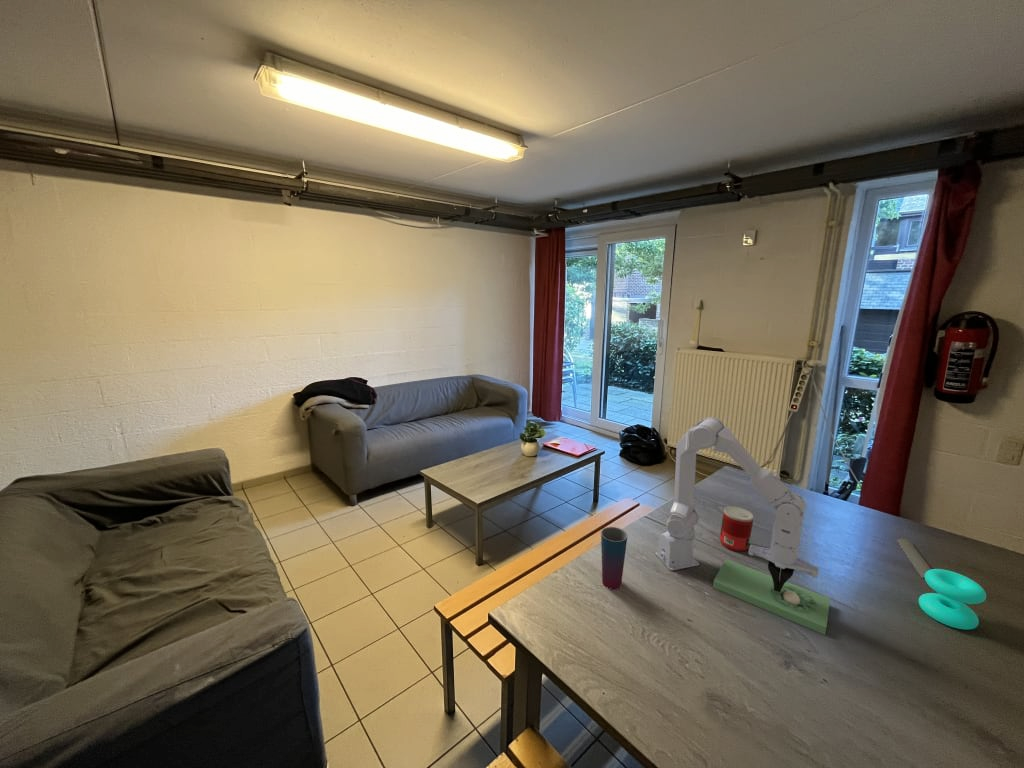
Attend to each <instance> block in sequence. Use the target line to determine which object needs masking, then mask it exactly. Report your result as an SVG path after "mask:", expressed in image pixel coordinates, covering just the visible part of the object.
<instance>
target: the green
mask: <svg viewBox="0 0 1024 768" xmlns="http://www.w3.org/2000/svg"><path fill="white" fill-rule="evenodd" d="M723 561H724V562H723V563H722V564H721V567H720V569H719V571H718V572H717V574H716V576H715V578H714V579H713V585H712V588H714V589H716V590H718V591H721V592H722V593H725V594H727V595H730V596H732V597H735V598H737V599H740V600H741V601H744V602H746V603H749V604H751V605H753V606H756V607H758V608H760V609H762V610H766V611H768V612H770V613H773V614H774V615H776V616H778V617H779V616H780V618H781V617H782V618H784V619H785V620H789V621H790V622H793V623H795V624H798V625H801V626H802V627H805V628H807V629H810V630H812V631H815V632H817V633H819V634H821V635H824V636H825V635H826V632H827V626H828V619H829V610H830V602H831V597H828V596H825V595H822V594H819V593H816V592H814V591H811V590H809V589H806V588H803V587H801V586H798V585H796V584H794V583H790V582H788V581H786V582H785V584H784V585H783V587H782V589H781V592H778V591H775V590H774V583H773V579H772V576H771V574H770V575H769V574H766V573H764V572H761V571H759V570H755V569H754V568H751V567H748V566H745V565H742V564H740V563H737V562H735V561H732V560H729V559H727V558H725V559H724V560H723ZM779 581H780V578H779ZM786 591H792V592H795V593H796V594H797V595H798V596H799V598H800V603H799V604H801V605H803V606H793V605H791V604H789V603H787V602H786V601H784V599H783V594H784V593H785V592H786Z"/></svg>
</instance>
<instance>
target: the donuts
mask: <svg viewBox="0 0 1024 768" xmlns="http://www.w3.org/2000/svg"><path fill="white" fill-rule="evenodd" d="M924 581H925V582H926V584H927V586H929V587H930V588H931V589H932V590H933V591H935V592H936V593H935V592H927V593H924V594H921V595H920V596H919V598H918V605H919V607H920V608H921V610H922V611H923V612H924V613H925V614H926V615H927V616H929V617H930V618H932V619H933V620H935V621H937V622H940V623H941V624H943V625H946V626H948V627H951V628H955V629H959V630H966V631H968V630H974V629H976V628H977V627H978V626H979V625H980V624H979V623H980V620H979V617H978V615H977V614H976V613H975V611H974V610H973V609H971V607H969V606H968V605H966V604H969V605H974V604H975V605H977V604H982V603H983V602H984V601H986V599H987V592H986V591H985V589H984V588H983V587H982V586H981V585H980V584H979V583H977V581H975V580H973V579H971V578H969V577H967V576H965V575H963V574H960V573H958V572H955V571H952V570H947V569H943V568H942V569H941V568H933V569H932V568H931V570H928V571H927V572H926V573H925V579H924Z"/></svg>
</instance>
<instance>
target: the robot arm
mask: <svg viewBox="0 0 1024 768" xmlns="http://www.w3.org/2000/svg"><path fill="white" fill-rule="evenodd" d="M712 447H714V448H713V449H712V451H713V452H718V453H719V452H720V453H726V454H727V455H728V456H729V457H730V458H731V459H732V460H733V461H735V463H736V464H737V465H738V466H739V467H741V469H742V470H743V471H744V472H745V473H747V474H748V476H749V477H750V484H751V486H752V487H753V488H754V489H755V490H756V491H757V492H758V493H759V494H760V495H761V497H762V498H763V499H764V500H765V501H766V502H767V503H768V504H769V505H770V506H771V507H772V508H774V509H773V514H774V516H775V519H774V521H773V526H772V532H771V533H772V534H771V540H770V547H769V548H768V547H762V546H757V545H753V544H749V545H750V546H748V552H747V553H748V555H749V556H756V557H759V558H760V559H761V558H762V559H764V560H767V561H768V564H767V569H768V571H769V574H770V576H772V579H773V583H774V590H775V591H778V592H781V589H782V587H783V585H784V584H785V582H788V580H790V579H791V577H792V576H793V575H794V572H795V570H796V571H798V572H801V573H803V574H806V575H809V576H811V578H814V579H816V580H817V579H818V574H819V570H820V567H818V566H815V565H812V564H810V563H808V562H807V561H805V560H802V559H800V558H799V557H798V555H799V547H800V543H801V542H800V541H801V536H802V529H803V528H802V527H803V521H804V519H805V518H804V516H805V513H806V512H805V511H806V509H807V506H806V502H805V501H804V499H803V496H801V495H800V494H798V493H795V492H794V491H793V490H791V489H789V488H788V487H787V486H786V485H785V484H784V483H783V481H782V480H781V476H780V474H778V473H774V472H773V471H772V470H770V469H766V468H763V467H761V466H760V464H759V463H758V462H757V460H755V458H754V457H753V456H752V455H751V454H750V453H749V452H748V450H746V448H745V447H744V446H743V444H742V443H741V442H740V441H739V440H738V439H737V437H736V436H735V435H734V433H733V432H732V431H731V429H730V428H729V427H727V426H725V424H724V423H723V421H722V420H721V419H719V418H717V417H712V416H711V417H706V418H704V419H702V420H701V421H698V422H696V424H695V425H693V426H692V427H691V428H689V429H688V430H687V431H686V433H684V435H683V436H682V437H681V438H680V439H679V440H678V441H677V443H676V453H675V455H676V457H675V474H674V492H673V493H674V495H673V497H674V498H673V504H672V506H671V509H670V512H669V517H668V519H667V520H666V522H665V523H666V524H665V526H666V530H667V531H665V532H663V533H661V534H660V535H659V536H658V539H657V551H656V552H655V556H656V557H658V559H660V561H661V562H662V563H663V564H664V565H665V566H666V567H667V568H668V569H669V570H670V571H676V570H681V569H685V568H687V569H688V568H692V567H693V568H694V567H697V566H700V563H699V562H698V561H697V560H696V559H695V558H694V548H695V538H696V531H695V528H694V526H696V525H697V524H698V522H699V519H700V518H699V514H698V512H697V510H696V509H697V508H696V506H697V505H696V503H695V500H694V499H695V498H694V497H695V487H696V486H695V484H696V467H697V466H696V465H697V452H698V451H700V450H707V449H710V448H712ZM779 579H780V581H779Z"/></svg>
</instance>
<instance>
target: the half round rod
mask: <svg viewBox="0 0 1024 768" xmlns="http://www.w3.org/2000/svg"><path fill="white" fill-rule="evenodd" d="M896 541H898V543H899V544H898V543H897V544H898V545H900V546H901V547H900V546H899V547H900V549H901V548H902V549H903V550H902V549H901V550H902V552H903V551H904V552H905V553H904V552H903V553H904V554H906V555H907V556H906V555H905V556H906V557H907V559H908V558H909V559H908V560H909V562H910V561H911V562H910V563H911V564H913V565H912V566H913V568H914V569H915V570H916V571H917V573H918V575H919V574H920V575H919V576H920V577H921V578H922V579H924V578H925V573H926V572H927V571H928V570H931V569H932V567H930V565H929V564H928V562H927V561H926V560H925V558H924V557H923V556H922V554H921V553H920V552H919V551H918V549H917V548H916V547H915V545H914V544H913V543H912V541H911V540H909V539H907V538H899V539H897V540H896Z"/></svg>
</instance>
